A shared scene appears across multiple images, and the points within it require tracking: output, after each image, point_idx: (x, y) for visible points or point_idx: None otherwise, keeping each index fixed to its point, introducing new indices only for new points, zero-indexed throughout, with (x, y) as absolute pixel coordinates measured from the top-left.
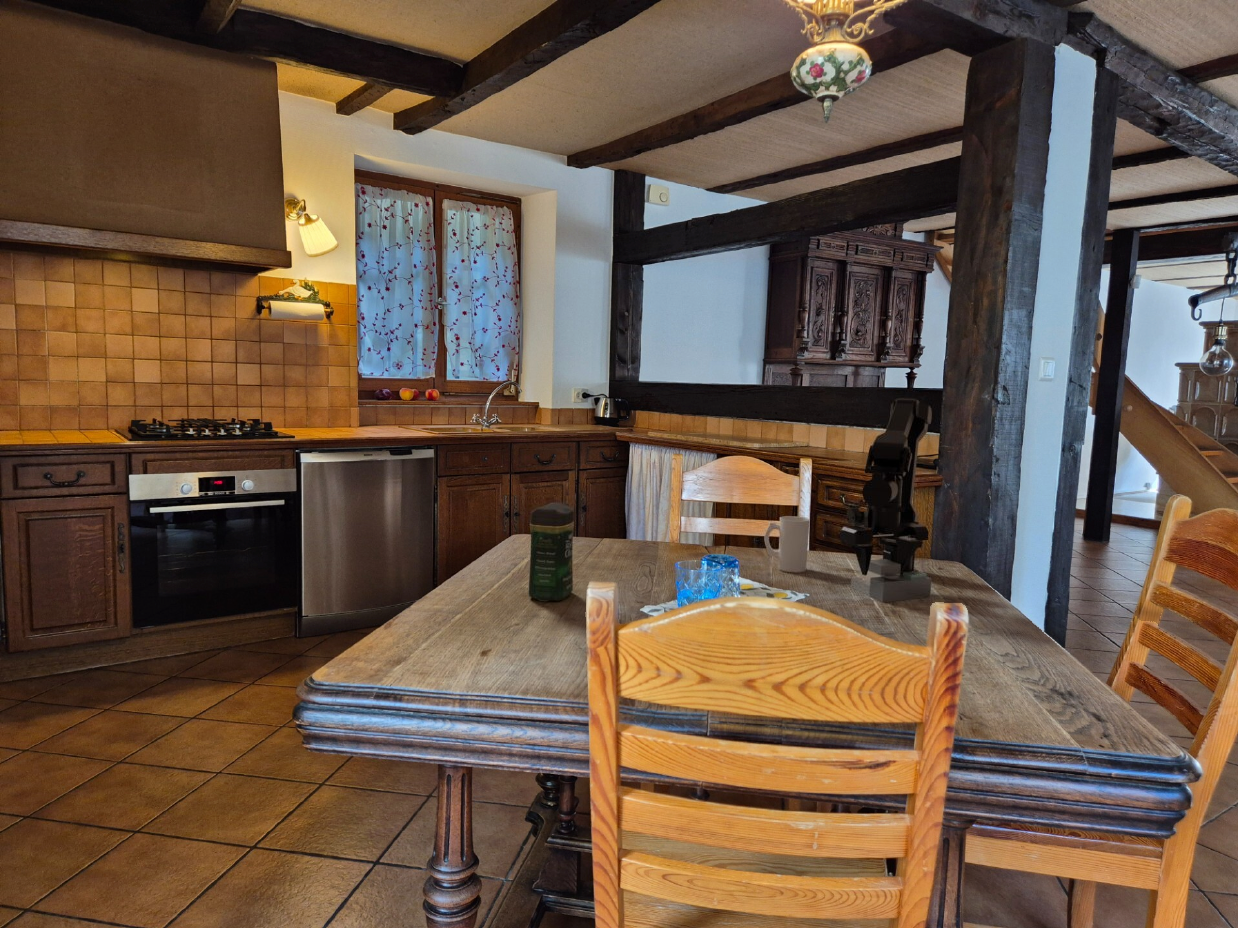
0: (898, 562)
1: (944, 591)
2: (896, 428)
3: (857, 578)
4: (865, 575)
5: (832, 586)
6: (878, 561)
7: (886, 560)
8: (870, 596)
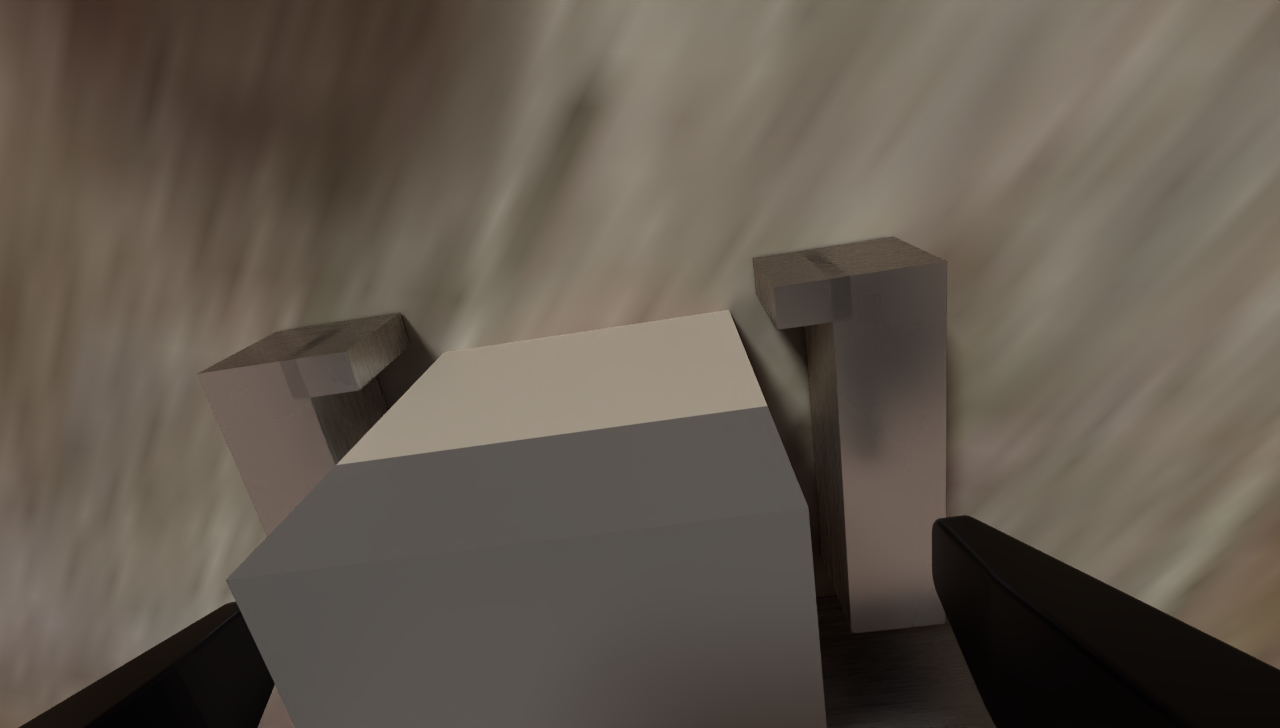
0: (1019, 639)
1: (1269, 598)
2: None
3: (288, 393)
4: None
5: (53, 253)
6: (502, 689)
7: (752, 636)
8: None
